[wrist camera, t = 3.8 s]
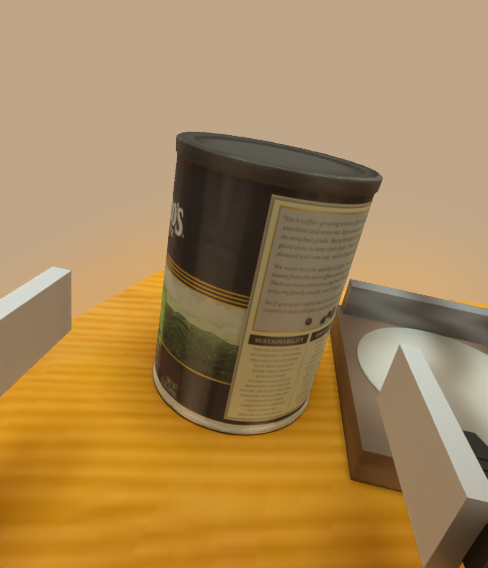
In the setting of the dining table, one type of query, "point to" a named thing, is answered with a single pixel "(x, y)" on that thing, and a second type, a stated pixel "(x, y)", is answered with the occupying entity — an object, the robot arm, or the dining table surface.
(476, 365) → the plate
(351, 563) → the dining table surface
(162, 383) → the coffee can
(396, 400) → the robot arm
